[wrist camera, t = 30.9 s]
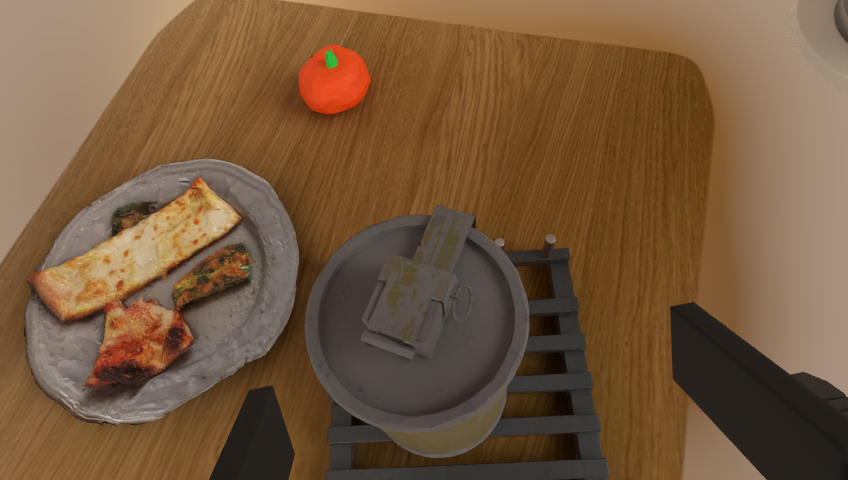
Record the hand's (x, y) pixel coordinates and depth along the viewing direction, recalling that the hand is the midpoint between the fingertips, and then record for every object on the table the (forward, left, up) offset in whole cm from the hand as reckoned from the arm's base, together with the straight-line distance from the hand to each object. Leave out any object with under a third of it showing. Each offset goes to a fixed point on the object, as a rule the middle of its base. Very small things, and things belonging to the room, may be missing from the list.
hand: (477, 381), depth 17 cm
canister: (+2, -4, -23) cm, 24 cm away
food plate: (+27, -15, -26) cm, 40 cm away
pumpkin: (+12, -36, -26) cm, 46 cm away
